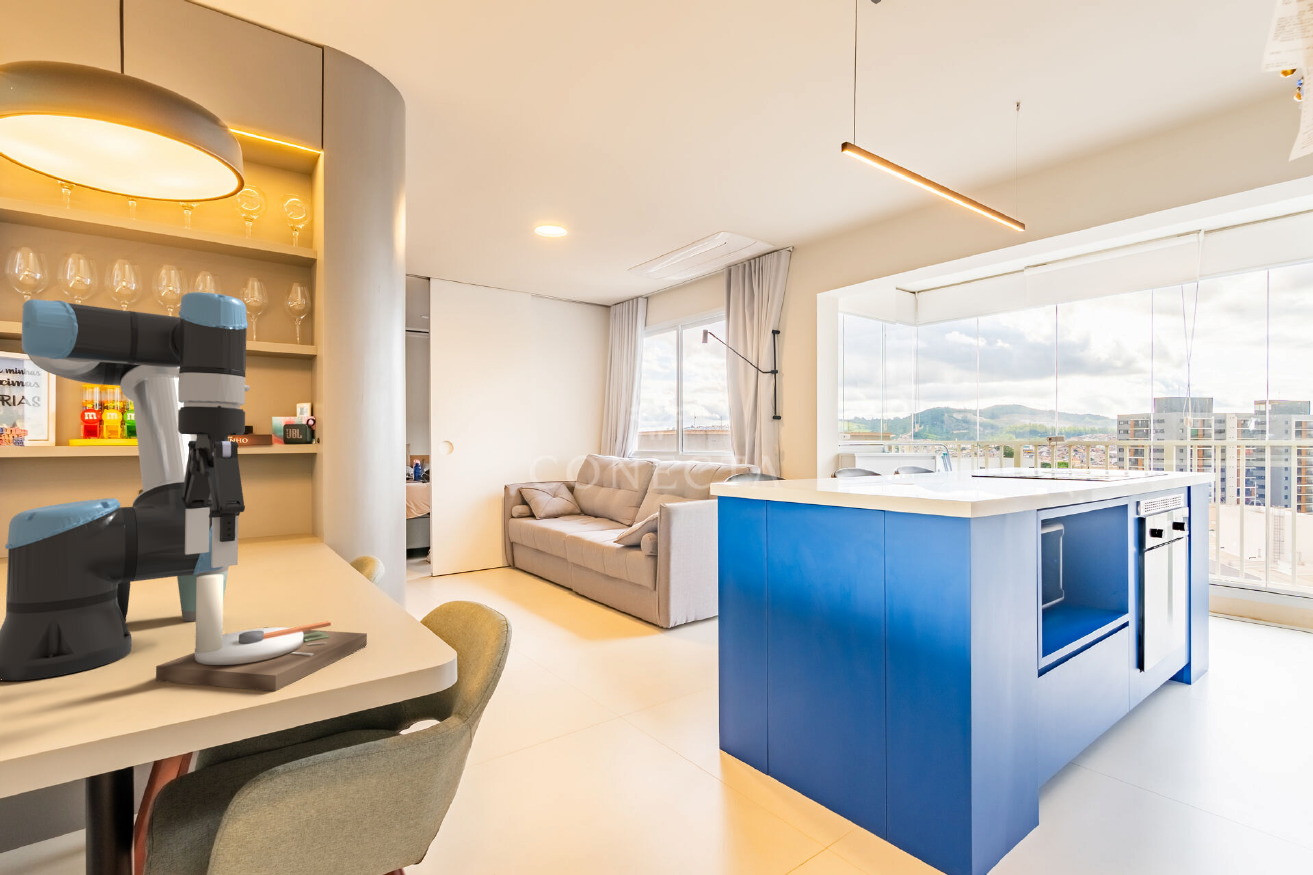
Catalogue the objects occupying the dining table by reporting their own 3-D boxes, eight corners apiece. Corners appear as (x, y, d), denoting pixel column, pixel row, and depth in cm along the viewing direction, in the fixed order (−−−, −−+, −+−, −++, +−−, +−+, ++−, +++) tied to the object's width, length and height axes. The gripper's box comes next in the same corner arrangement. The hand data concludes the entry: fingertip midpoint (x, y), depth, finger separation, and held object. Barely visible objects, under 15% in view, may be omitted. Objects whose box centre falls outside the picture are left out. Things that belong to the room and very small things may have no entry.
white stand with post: (207, 672, 78) (208, 585, 78) (185, 649, 87) (186, 571, 87) (345, 641, 91) (346, 566, 91) (314, 624, 99) (315, 556, 100)
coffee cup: (199, 624, 107) (200, 556, 107) (160, 621, 109) (161, 555, 109) (241, 612, 116) (242, 549, 116) (204, 609, 117) (205, 547, 118)
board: (155, 680, 81) (156, 664, 81) (265, 639, 99) (265, 625, 99) (275, 690, 78) (275, 673, 78) (366, 646, 96) (366, 632, 96)
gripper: (274, 405, 79) (271, 567, 79) (218, 410, 95) (216, 545, 95) (204, 401, 73) (201, 577, 73) (158, 407, 89) (155, 551, 89)
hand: (210, 559), depth 84 cm, fingers open, 13 cm apart
